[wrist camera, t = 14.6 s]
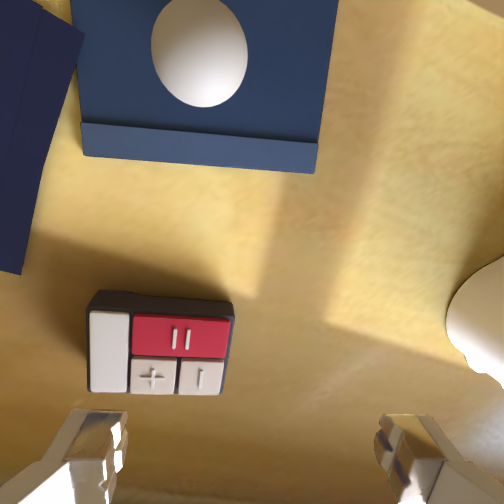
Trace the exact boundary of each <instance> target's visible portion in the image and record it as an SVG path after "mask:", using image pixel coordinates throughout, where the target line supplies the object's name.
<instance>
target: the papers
mask: <svg viewBox="0 0 504 504" xmlns="http://www.w3.org/2000/svg"><path fill="white" fill-rule="evenodd" d="M42 7H43V6H41V5H39V4H37V3H36V2H34V1H32V0H0V270H1V271H5V272H9V273H13V274H17V275H21V272H22V267H23V262H24V257H25V252H26V247H27V243H28V238H29V233H30V228H31V223H32V218H33V214H34V209H35V204H36V199H37V194H38V189H39V184H40V180H41V175H42V170H43V166H44V162H45V159H46V156H47V153H48V150H49V147H50V144H51V140H52V137H53V134H54V131H55V128H56V125H57V122H58V118H59V115H60V112H61V109H62V106H63V103H64V100H65V97H66V93H67V90H68V87H69V84H70V81H71V78H72V75H73V71H74V68H75V65H76V62H77V59H78V56H79V53H80V49H81V46H82V43H83V40H84V37H85V33H83V32H81V31H79V30H78V29H76V28H74V27H73V26H71V25H69V24H68V23H66V22H64V21H63V20H61V19H59V18H58V17H56V16H54V15H53V14H51V13H49V12H48V11H46V10H44V9H42Z"/></svg>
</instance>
